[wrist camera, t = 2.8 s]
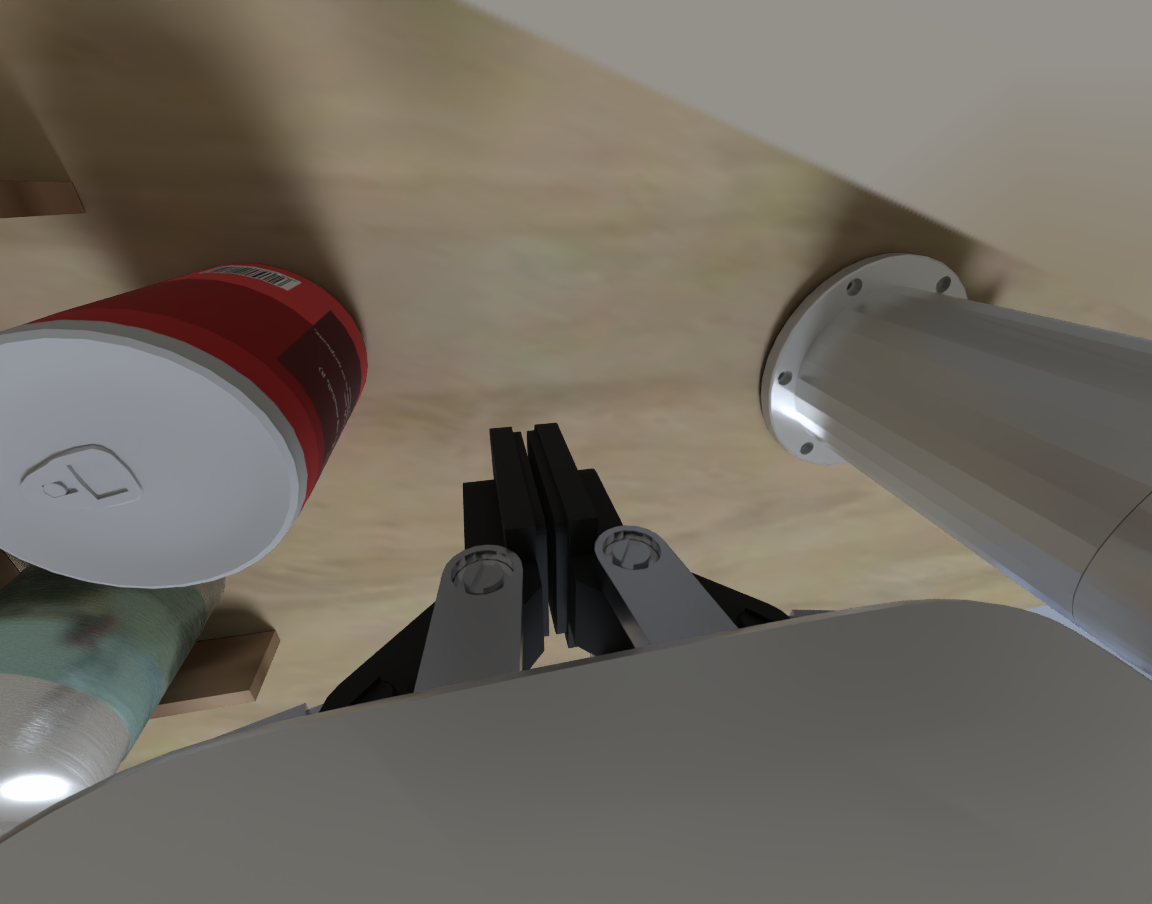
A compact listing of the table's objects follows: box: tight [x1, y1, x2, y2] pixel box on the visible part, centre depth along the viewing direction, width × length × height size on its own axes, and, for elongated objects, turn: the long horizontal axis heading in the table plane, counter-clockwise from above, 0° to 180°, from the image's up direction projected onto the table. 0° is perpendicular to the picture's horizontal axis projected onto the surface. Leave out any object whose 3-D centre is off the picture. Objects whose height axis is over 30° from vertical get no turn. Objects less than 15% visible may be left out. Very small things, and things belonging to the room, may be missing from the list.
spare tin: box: [0, 564, 225, 836], centre depth 20 cm, size 8×8×11 cm
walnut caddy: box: [0, 181, 280, 719], centre depth 20 cm, size 11×25×4 cm, turn 179°
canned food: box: [0, 263, 368, 589], centre depth 16 cm, size 8×8×11 cm
